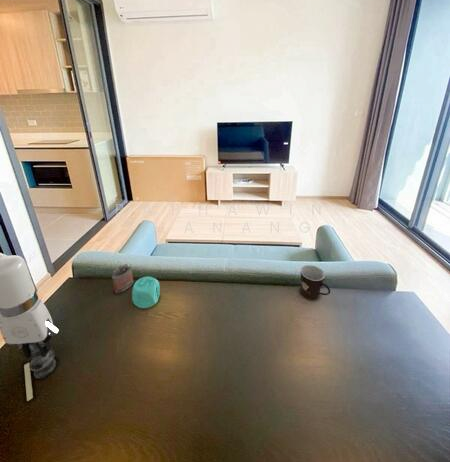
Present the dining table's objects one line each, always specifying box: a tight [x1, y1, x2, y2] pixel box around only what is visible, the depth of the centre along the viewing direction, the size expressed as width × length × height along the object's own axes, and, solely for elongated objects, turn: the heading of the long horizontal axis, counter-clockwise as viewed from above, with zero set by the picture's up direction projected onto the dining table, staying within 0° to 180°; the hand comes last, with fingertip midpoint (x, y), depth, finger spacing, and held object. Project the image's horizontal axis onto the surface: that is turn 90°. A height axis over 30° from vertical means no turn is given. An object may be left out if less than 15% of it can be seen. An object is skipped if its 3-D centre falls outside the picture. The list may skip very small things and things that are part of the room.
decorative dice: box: [131, 276, 161, 309], centre depth 92 cm, size 8×8×8 cm
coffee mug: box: [300, 264, 331, 300], centre depth 92 cm, size 12×9×10 cm
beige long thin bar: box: [23, 362, 34, 402], centre depth 67 cm, size 12×1×1 cm, turn 41°
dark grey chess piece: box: [29, 342, 57, 379], centre depth 68 cm, size 6×6×12 cm
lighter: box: [111, 263, 135, 295], centre depth 98 cm, size 8×3×10 cm, turn 144°
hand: (39, 352), depth 68 cm, fingers closed on dark grey chess piece, 3 cm apart
